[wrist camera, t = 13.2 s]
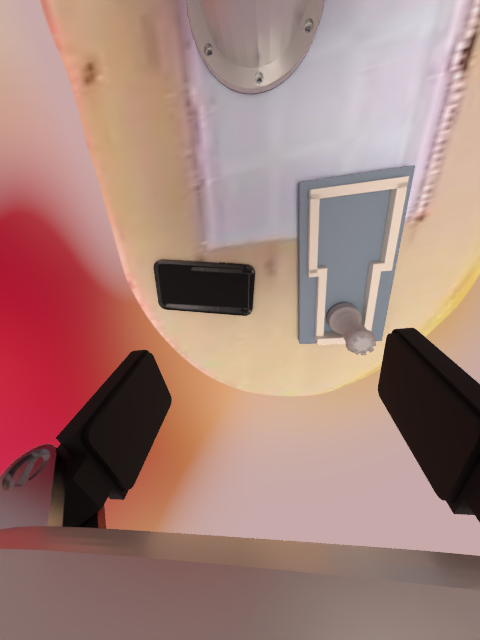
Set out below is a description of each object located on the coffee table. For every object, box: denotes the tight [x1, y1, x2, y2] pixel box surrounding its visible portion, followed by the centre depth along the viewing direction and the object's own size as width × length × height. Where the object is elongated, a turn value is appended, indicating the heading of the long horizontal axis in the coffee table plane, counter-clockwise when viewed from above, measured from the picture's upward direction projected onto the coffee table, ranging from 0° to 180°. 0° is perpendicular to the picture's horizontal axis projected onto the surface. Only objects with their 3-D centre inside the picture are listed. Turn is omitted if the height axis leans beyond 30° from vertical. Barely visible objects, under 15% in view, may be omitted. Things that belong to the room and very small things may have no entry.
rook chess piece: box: [327, 303, 376, 355], centre depth 28 cm, size 4×4×8 cm
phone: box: [154, 260, 255, 316], centre depth 34 cm, size 8×1×15 cm
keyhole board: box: [298, 165, 415, 345], centre depth 29 cm, size 22×12×4 cm, turn 7°
